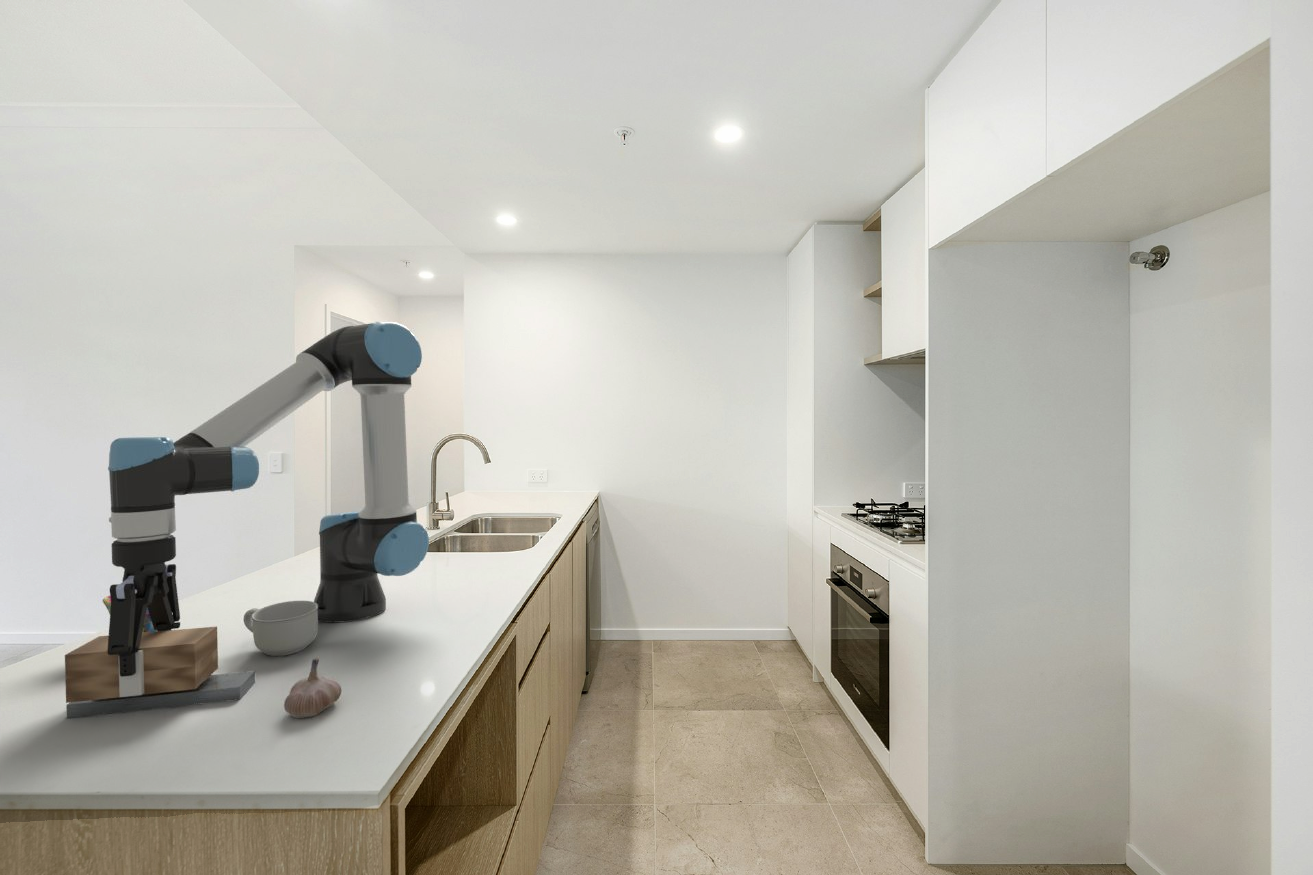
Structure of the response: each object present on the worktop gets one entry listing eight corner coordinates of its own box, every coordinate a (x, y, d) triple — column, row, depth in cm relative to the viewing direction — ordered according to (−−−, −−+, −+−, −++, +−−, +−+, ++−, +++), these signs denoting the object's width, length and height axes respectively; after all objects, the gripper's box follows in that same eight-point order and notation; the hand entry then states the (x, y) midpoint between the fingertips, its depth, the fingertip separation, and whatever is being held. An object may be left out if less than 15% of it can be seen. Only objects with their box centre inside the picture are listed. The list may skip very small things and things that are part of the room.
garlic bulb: (339, 695, 95) (339, 645, 95) (344, 713, 89) (343, 660, 89) (284, 707, 91) (283, 655, 91) (284, 727, 85) (283, 672, 85)
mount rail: (255, 682, 100) (254, 655, 99) (240, 699, 93) (239, 670, 93) (94, 698, 93) (93, 669, 93) (66, 718, 87) (66, 687, 87)
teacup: (331, 643, 117) (331, 603, 117) (280, 664, 107) (280, 620, 107) (279, 635, 122) (278, 596, 122) (225, 654, 112) (225, 612, 111)
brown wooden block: (218, 668, 99) (217, 626, 99) (195, 688, 91) (194, 643, 91) (100, 680, 94) (99, 636, 94) (66, 702, 87) (64, 655, 86)
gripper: (151, 526, 101) (154, 659, 102) (69, 552, 81) (73, 717, 82) (203, 524, 103) (206, 654, 104) (135, 549, 83) (139, 710, 84)
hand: (148, 682), depth 93 cm, fingers closed on brown wooden block, 8 cm apart
